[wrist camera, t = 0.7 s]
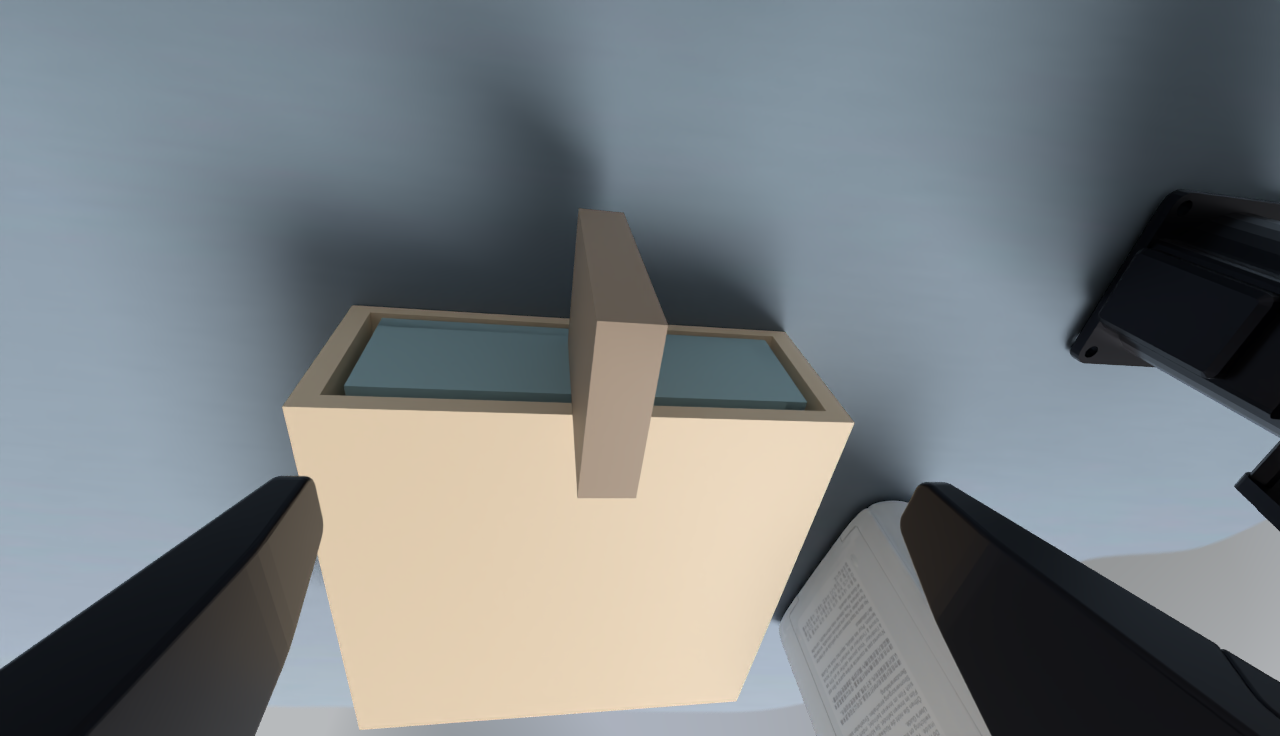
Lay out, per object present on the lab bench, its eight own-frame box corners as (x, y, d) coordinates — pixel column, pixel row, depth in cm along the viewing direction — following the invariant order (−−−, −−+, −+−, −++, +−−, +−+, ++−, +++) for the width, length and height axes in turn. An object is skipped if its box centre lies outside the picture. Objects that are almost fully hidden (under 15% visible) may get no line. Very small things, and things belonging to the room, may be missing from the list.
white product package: (832, 635, 30) (980, 954, 20) (763, 630, 29) (883, 968, 19) (936, 501, 25) (1204, 832, 15) (859, 490, 24) (1092, 840, 14)
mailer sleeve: (785, 331, 19) (854, 423, 15) (702, 596, 27) (732, 709, 22) (352, 305, 17) (282, 406, 12) (395, 608, 24) (361, 738, 20)
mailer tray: (798, 223, 16) (948, 342, 10) (688, 602, 26) (732, 785, 19) (366, 178, 14) (226, 298, 8) (415, 613, 23) (368, 823, 17)
